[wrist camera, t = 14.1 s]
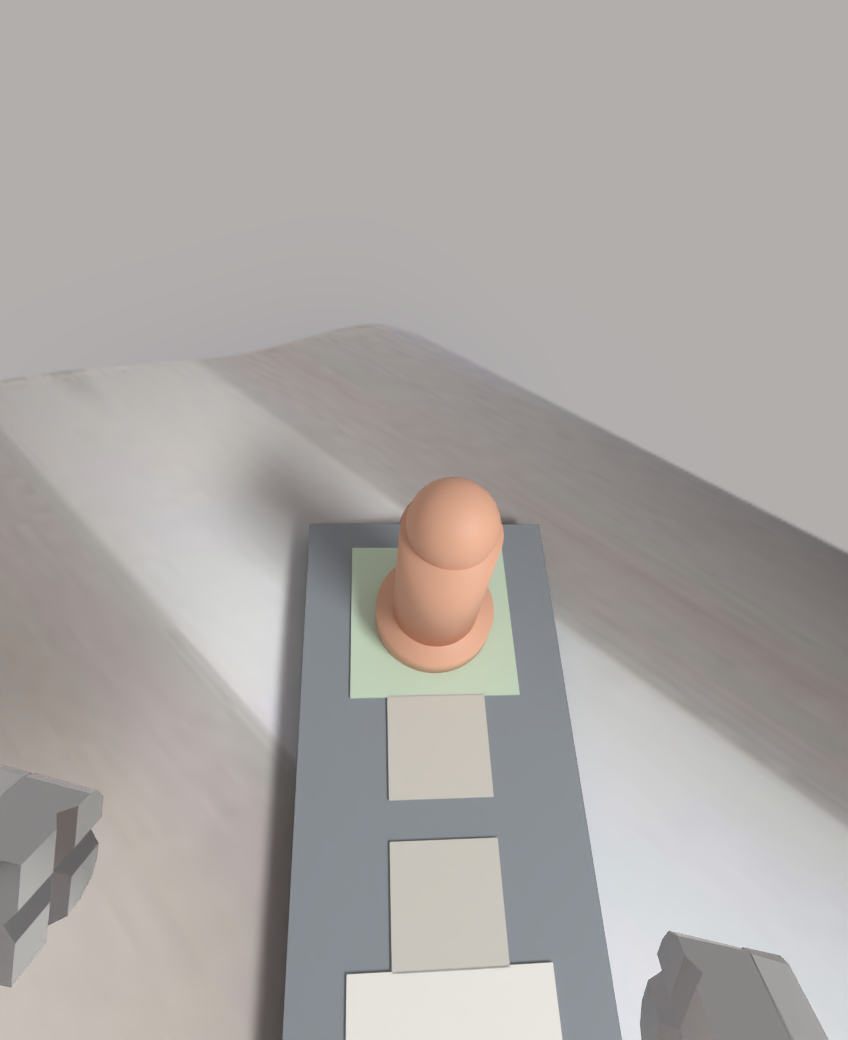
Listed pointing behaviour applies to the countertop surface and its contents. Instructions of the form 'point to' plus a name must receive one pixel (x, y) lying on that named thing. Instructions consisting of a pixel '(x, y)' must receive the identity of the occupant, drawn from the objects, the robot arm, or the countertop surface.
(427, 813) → the board
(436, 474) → the countertop surface
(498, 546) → the pawn
